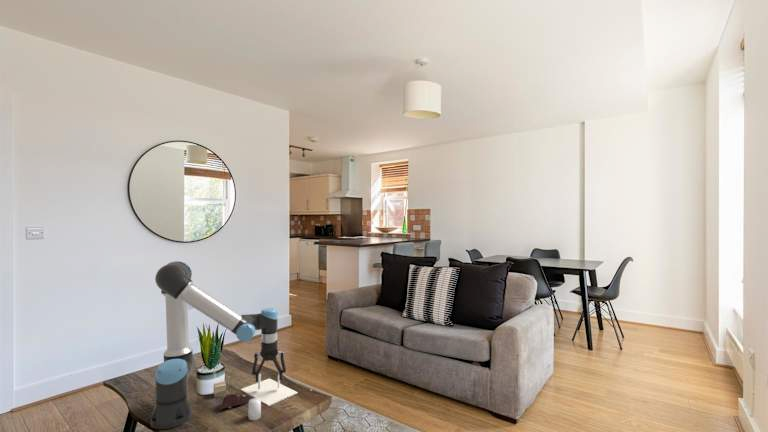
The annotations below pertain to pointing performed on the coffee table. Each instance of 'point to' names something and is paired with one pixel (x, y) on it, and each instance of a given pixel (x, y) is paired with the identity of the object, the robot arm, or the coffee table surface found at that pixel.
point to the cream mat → (269, 391)
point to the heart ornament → (234, 400)
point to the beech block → (219, 389)
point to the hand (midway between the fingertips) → (269, 387)
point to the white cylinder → (254, 409)
